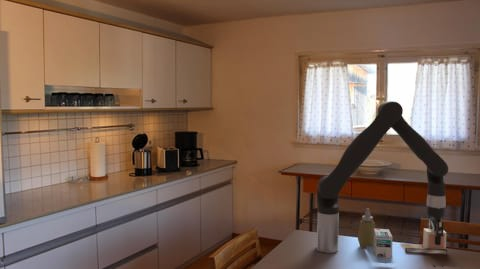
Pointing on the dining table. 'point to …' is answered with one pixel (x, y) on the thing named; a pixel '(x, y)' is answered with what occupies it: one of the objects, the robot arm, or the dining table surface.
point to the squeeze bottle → (366, 230)
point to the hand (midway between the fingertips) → (434, 241)
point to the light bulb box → (383, 243)
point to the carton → (433, 239)
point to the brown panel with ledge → (422, 249)
